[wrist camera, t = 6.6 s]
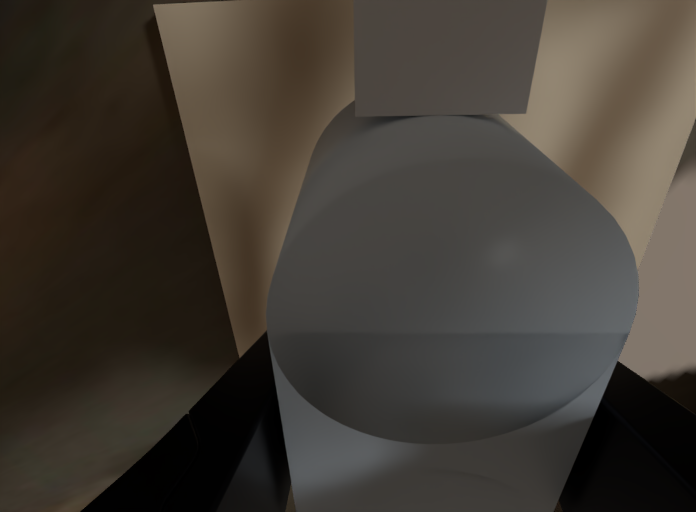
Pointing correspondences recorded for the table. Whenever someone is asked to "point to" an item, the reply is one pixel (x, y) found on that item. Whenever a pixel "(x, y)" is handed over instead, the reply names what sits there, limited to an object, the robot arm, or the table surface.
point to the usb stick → (442, 279)
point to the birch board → (339, 91)
